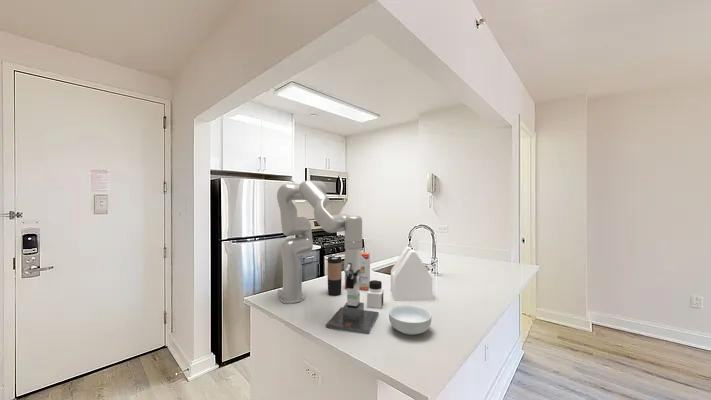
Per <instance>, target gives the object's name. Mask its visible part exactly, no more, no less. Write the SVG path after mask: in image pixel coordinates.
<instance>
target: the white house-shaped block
mask: <svg viewBox="0 0 711 400" xmlns="http://www.w3.org/2000/svg"><path fill="white" fill-rule="evenodd" d="M390 292H391V294H392V297H393V299H394V301H396V302H397V301H405V302H406V301H410V302H411V301H433V277H432V275H431V274H430V272H429V271H428V268H427V267H426V266H425V264H424V263H423V261H422V259H421V258H420V257H419V255H418V253H417V252H416V251H415V250H414V249H412V248H411V247H410V246H405V247H404V249H403V250H402V252H401V253H400V255H399V257H398V259H397V260H396V262H395V263H394V265H393V266H392V268H391V270H390Z"/></svg>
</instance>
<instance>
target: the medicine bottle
mask: <svg viewBox="0 0 711 400" xmlns="http://www.w3.org/2000/svg"><path fill="white" fill-rule="evenodd" d="M382 284H383V283H382V281H381V280H379V279H372V280H370V282H369V290H367V294H366V302H367V303H366V304H367V305H366V307H367V308H372V309H383V305H384V288H382V287H383V286H382Z"/></svg>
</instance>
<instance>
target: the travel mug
mask: <svg viewBox="0 0 711 400" xmlns="http://www.w3.org/2000/svg"><path fill="white" fill-rule="evenodd" d="M342 273H343V272H342V256H335V255H331V256H328V257H327V295H328V296H331V297H338V296H341V295H342V282H343V281H342V280H343V279H342V277H343V276H342V275H343V274H342Z"/></svg>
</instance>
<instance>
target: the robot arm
mask: <svg viewBox="0 0 711 400" xmlns="http://www.w3.org/2000/svg"><path fill="white" fill-rule="evenodd" d="M327 192H328V188H327V185H326V184H325V183H324V182H323V181H322V180H310V179H307V180H303V181H302V182H301V183H285V184H282V185H280V187H278V190H277V193H276V200H277V203H278V208H279V211H280V212H279V213H280V222H281V223H280V224H281V231H282V234H283V235H284V236H285V237H286V236H287V237H291V236H293V238H288V239H285V240H283V241H282V243H281V244H280V254H281V259H282V289H277V292H276V295H280V297H279V300H280V302H281V303H282V304H297V303H300V302H302V301H304V300H306V299H305V298H306V297H305V294H303V290H302V288H303V283H302V280H303V278H302V277H303V276H302V274H303V273H302V271H303V270H302V268H303V266H302V262H301V260H300V258H299V256H304V255H308V254H310V253H311V252H312V251H313V247H314V243H313V242H314V241H313V233H312V226H311V225H312V224H311V221H310V220H309V218H307V217H305V216H298V210H297V207H296V205H295V203H294V202H293V201H306V202H307V203H308V204H310V206H311V207H312V208H313V215H314V220H315V221H316V223H317V224H318V226H320V227H321V229H322V230H323V231H325V232H327V233H329V234H334V233H341V232H344V249H345V250H344V258H343V259H344V260H343V261H344V262H343V263H344V264H343V265H344V266H343V272H344V274H345V273H346V288H350V289H353V288H354V279H353V276H354V273H356V272H357V271H358V270H360V268H361V252H362V251H361V250H362V249H363V218H362V217H361V215H349V214H345V213H344V214H332V215H331V214H330V213H329V212H328V211H327V210H326V208H327V207H328V205H329V204H330V198H329V197H328V195H327ZM294 236H298V237H294ZM351 274H352V275H351Z"/></svg>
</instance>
